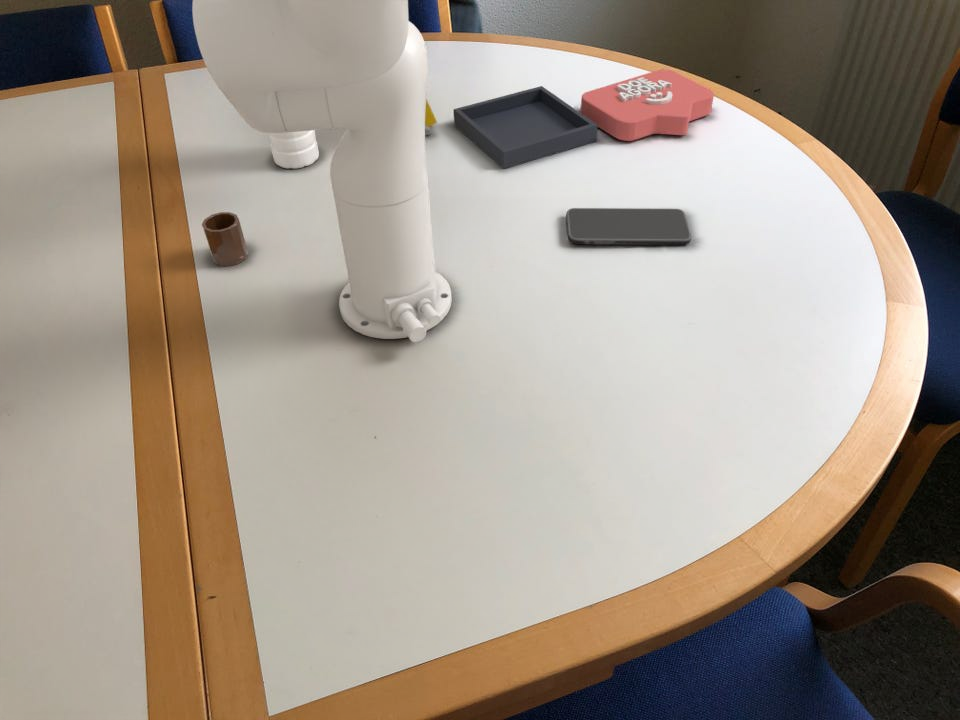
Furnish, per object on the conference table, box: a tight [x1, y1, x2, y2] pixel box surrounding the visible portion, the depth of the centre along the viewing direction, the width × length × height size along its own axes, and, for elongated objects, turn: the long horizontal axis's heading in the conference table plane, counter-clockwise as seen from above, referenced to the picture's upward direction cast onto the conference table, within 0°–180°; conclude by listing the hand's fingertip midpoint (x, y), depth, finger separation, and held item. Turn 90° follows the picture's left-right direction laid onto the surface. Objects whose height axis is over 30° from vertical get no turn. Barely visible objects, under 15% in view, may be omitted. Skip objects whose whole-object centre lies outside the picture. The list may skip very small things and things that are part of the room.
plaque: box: [580, 69, 715, 142], centre depth 120 cm, size 18×4×15 cm
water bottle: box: [267, 130, 320, 170], centre depth 107 cm, size 9×6×25 cm
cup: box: [201, 211, 249, 267], centre depth 96 cm, size 4×4×5 cm
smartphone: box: [565, 207, 692, 246], centre depth 99 cm, size 7×1×15 cm
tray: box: [453, 85, 599, 170], centre depth 118 cm, size 16×16×3 cm
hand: (372, 43), depth 95 cm, fingers closed on ball, 4 cm apart
